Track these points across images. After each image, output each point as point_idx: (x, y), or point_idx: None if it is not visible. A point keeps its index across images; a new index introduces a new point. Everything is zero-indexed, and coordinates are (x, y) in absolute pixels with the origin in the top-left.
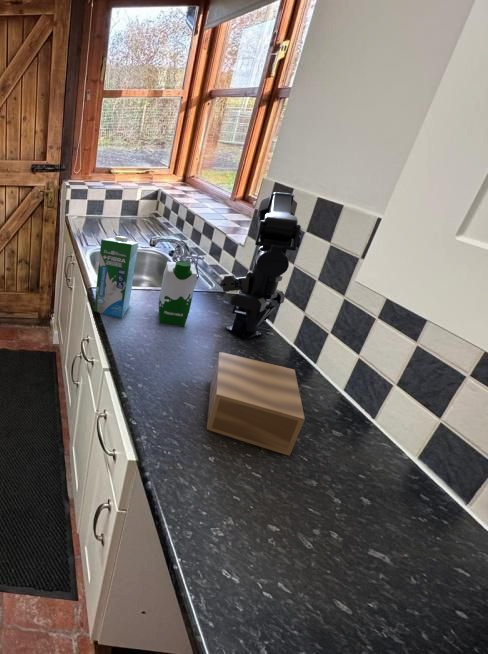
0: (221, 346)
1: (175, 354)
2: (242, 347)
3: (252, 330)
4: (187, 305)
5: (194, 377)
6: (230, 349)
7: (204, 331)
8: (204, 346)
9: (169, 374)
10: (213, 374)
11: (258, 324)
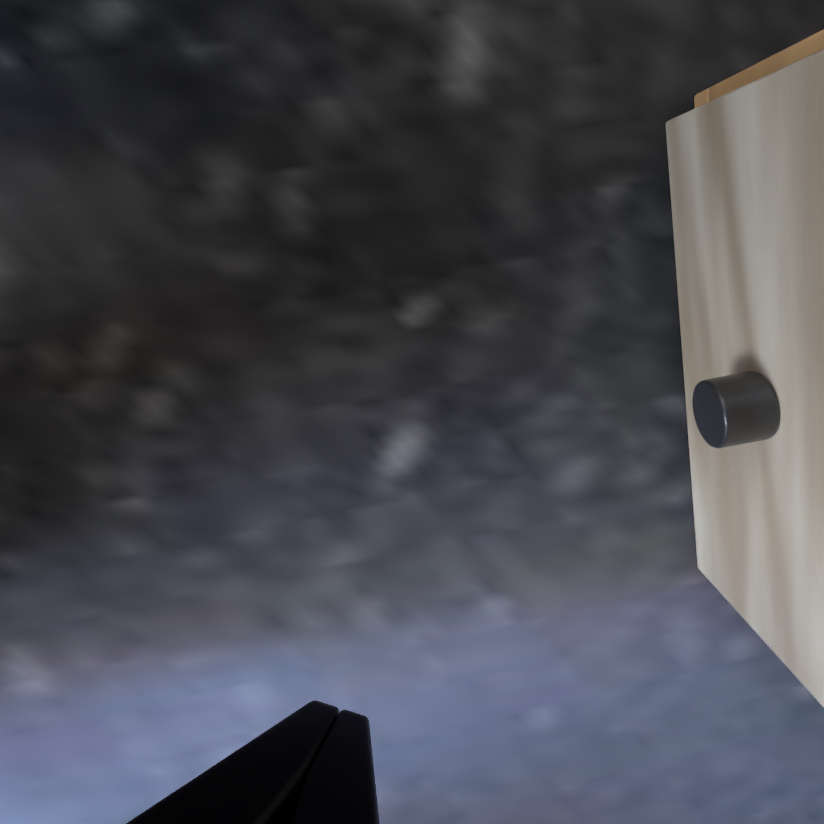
0: (165, 615)
1: (495, 805)
2: (53, 493)
3: (368, 743)
4: None
5: (698, 655)
6: (158, 557)
7: (40, 750)
8: (257, 701)
9: (749, 769)
10: None
11: (263, 814)
